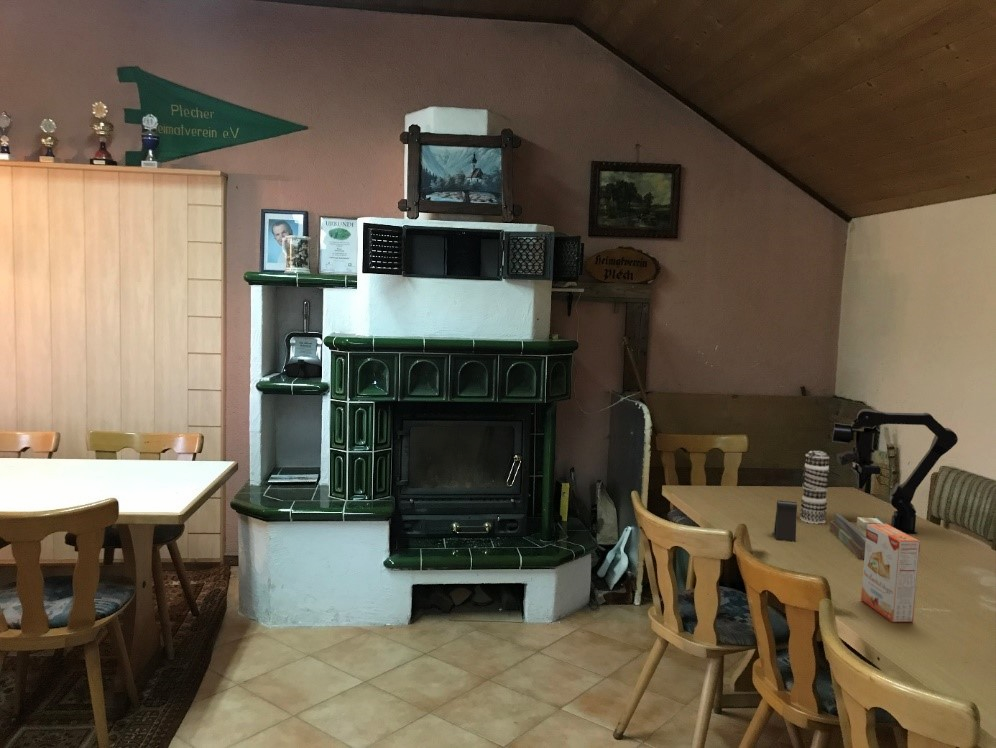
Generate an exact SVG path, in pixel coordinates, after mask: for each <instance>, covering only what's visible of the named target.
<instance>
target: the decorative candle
mask: <svg viewBox="0 0 996 748" xmlns="http://www.w3.org/2000/svg"><path fill="white" fill-rule="evenodd" d="M830 458H831V457H830V456H829V455H828V454H827V452H825V451H822V450H810V451H808V453H805V463H804V466H803V467H802V471H803V473H802V478H801V479H802V481H803V482H802V488H803V493H802V499H801V500H800V501H801V505H800V506H801V509H800V510H799V511H800V514H799V516H800V518H799V520H800V519H801V520H800V521H802V520H803V521H802V522H804V521H805V522H804V523H807V522H808V523H809V524H813V523H815V525H819V524H818V523H823V524H825V523H826V518H827V515H826V514H827V512H826V510H827V507H826V506H827V505H828V503H827V491H829V489H828V488H829V485H828V484H830V482H829V480H828V479H831V475H830V474H831V472H830V471H831V470H830V465H829V464H830V463H829V462H830ZM808 523H807V524H808Z"/></svg>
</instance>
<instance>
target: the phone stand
mask: <svg viewBox="0 0 996 748" xmlns="http://www.w3.org/2000/svg"><path fill="white" fill-rule="evenodd" d="M797 510H798V503H797V502H796V501H788V500H787V501H786V500H779V499H778V500H777V501H776V511H775V517H774V518H775V520H774V528H773V534H774V537H776V538H775V540H776V541H783V540H786V541H785V542H792V541H794V542H795V543H796V542H797V538H796V537H797V536H796V535H797V514H798V513H797V512H798V511H797Z"/></svg>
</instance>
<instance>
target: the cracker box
mask: <svg viewBox="0 0 996 748" xmlns="http://www.w3.org/2000/svg"><path fill="white" fill-rule="evenodd" d="M920 550H921V541H920V540H919V539H916V538H915V537H912V536H911V535H909V534H907V533H904V532H901V531H899V530H898V529H896V528H894V527H892V526H891V524H889V525H888V523H887V524H867V530H866V543H865V556H864V560H863V570H862V582H861V583H862V584H861V595H860V600H861V601H862V602H863V603H865V604H866V605H868V606H869V607H870V608H871V609H873V610H875V612H877V613H879V614H880V615H881V616H883V617H884V618H886V620H888V621H889V622H891V623H913V622H914V617H915V606H916V595H917V594H916V593H917V583H918V582H917V581H918V573H919V563H920V552H921V551H920Z"/></svg>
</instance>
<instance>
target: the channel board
mask: <svg viewBox="0 0 996 748" xmlns="http://www.w3.org/2000/svg"><path fill="white" fill-rule="evenodd" d="M872 518H877V519H878V520H879V521H880V522H882V523H883V524H888V522H886V521H885V520H884V519H882V518H881V517H880V516H877V515H873V516H872ZM833 519H834V520H830V521H829V530H830V532H832V533H833V534H834V535H835V536H836V537H837V538H838V539H839V540H840V542H842V543H843V544H844V545H845V546H846V547H847V548H848V549H849V550H850V551H851V552H852V553H853V554H854V555H855V556H856V557H857V558H858V559H859V560H862V559H864V556H865V543H866V537H865V536H864V535H863V534H862V533H861V532H860V531H858V530H857V529H856V526H857V522H855V521H853V522H852V521H848V520H847V518H845V517H844V516H843V515H842V514H841V513H834V518H833ZM888 525H890V524H888Z"/></svg>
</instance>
